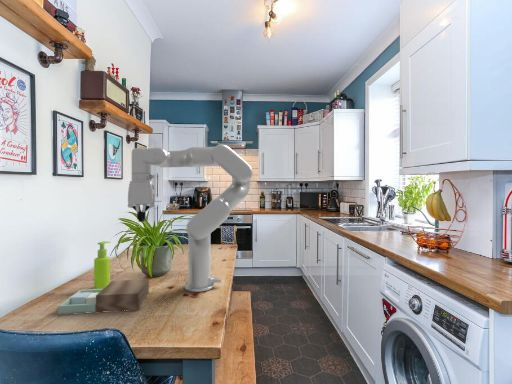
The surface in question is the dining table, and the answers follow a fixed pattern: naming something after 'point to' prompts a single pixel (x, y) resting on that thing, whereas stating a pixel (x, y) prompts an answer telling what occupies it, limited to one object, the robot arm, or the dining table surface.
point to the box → (77, 305)
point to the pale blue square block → (80, 298)
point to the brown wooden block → (122, 295)
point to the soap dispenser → (101, 268)
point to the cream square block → (91, 298)
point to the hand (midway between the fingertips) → (141, 221)
